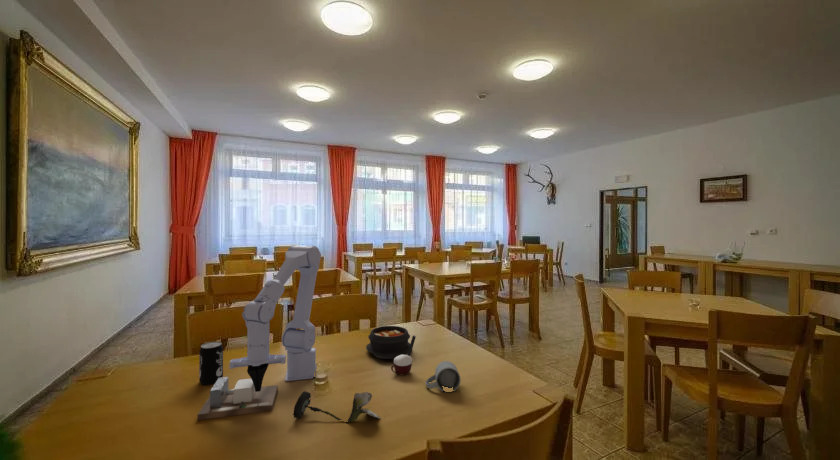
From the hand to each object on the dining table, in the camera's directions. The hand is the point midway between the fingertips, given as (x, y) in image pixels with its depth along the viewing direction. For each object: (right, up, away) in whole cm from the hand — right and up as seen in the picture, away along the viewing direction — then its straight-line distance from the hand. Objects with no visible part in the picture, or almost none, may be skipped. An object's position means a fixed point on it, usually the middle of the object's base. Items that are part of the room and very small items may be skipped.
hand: (258, 389), depth 97 cm
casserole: (+34, -4, +40) cm, 53 cm away
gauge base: (-4, -3, -1) cm, 6 cm away
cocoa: (+41, -4, +20) cm, 46 cm away
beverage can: (-21, -3, +13) cm, 25 cm away
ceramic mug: (+54, -4, +10) cm, 55 cm away
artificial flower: (+25, -4, -7) cm, 27 cm away
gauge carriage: (-4, -2, -3) cm, 5 cm away
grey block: (-10, -2, -3) cm, 10 cm away
